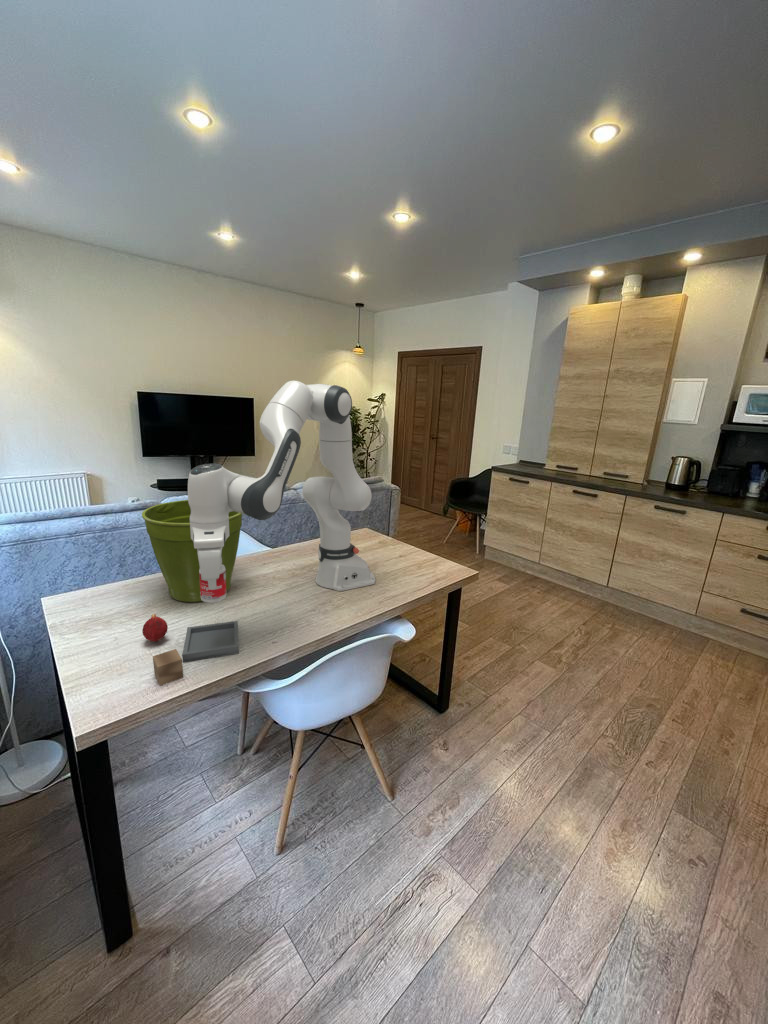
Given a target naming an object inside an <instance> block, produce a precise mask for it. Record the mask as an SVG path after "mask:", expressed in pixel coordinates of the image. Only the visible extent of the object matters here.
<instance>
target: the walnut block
mask: <svg viewBox="0 0 768 1024" xmlns="http://www.w3.org/2000/svg"><path fill="white" fill-rule="evenodd" d="M152 664H153V673H154V676H155V679H156V681H157V683H158V685H159V687H161V686H163V684H164V685H167V684H169V683H172V682H175V681H177V680H180V679H183V678H184V666H183V658H182V656H181V655H180V653H179V651H178V650H177V648H174V649H171V650H168V651H165V652H162V653H159V654H156V655H153V656H152ZM166 683H167V684H166Z"/></svg>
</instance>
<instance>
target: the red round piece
mask: <svg viewBox="0 0 768 1024" xmlns="http://www.w3.org/2000/svg"><path fill="white" fill-rule="evenodd" d="M168 629H169V628H168V623H167V621H166V620H165V619H164V618H162V617H160V616H157V614H156V613H153V614H151V616H150V618H149V619H147V621H145V622H144V623H143V626H142V629H141V630H142V631H141V632H142V636H143V637H144V638H145V639H146V640H147V641H149V642H153V643H157V642H159V641H160V640H162V639H163V638H164V637H165V635H166V634H167V633H168Z"/></svg>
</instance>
